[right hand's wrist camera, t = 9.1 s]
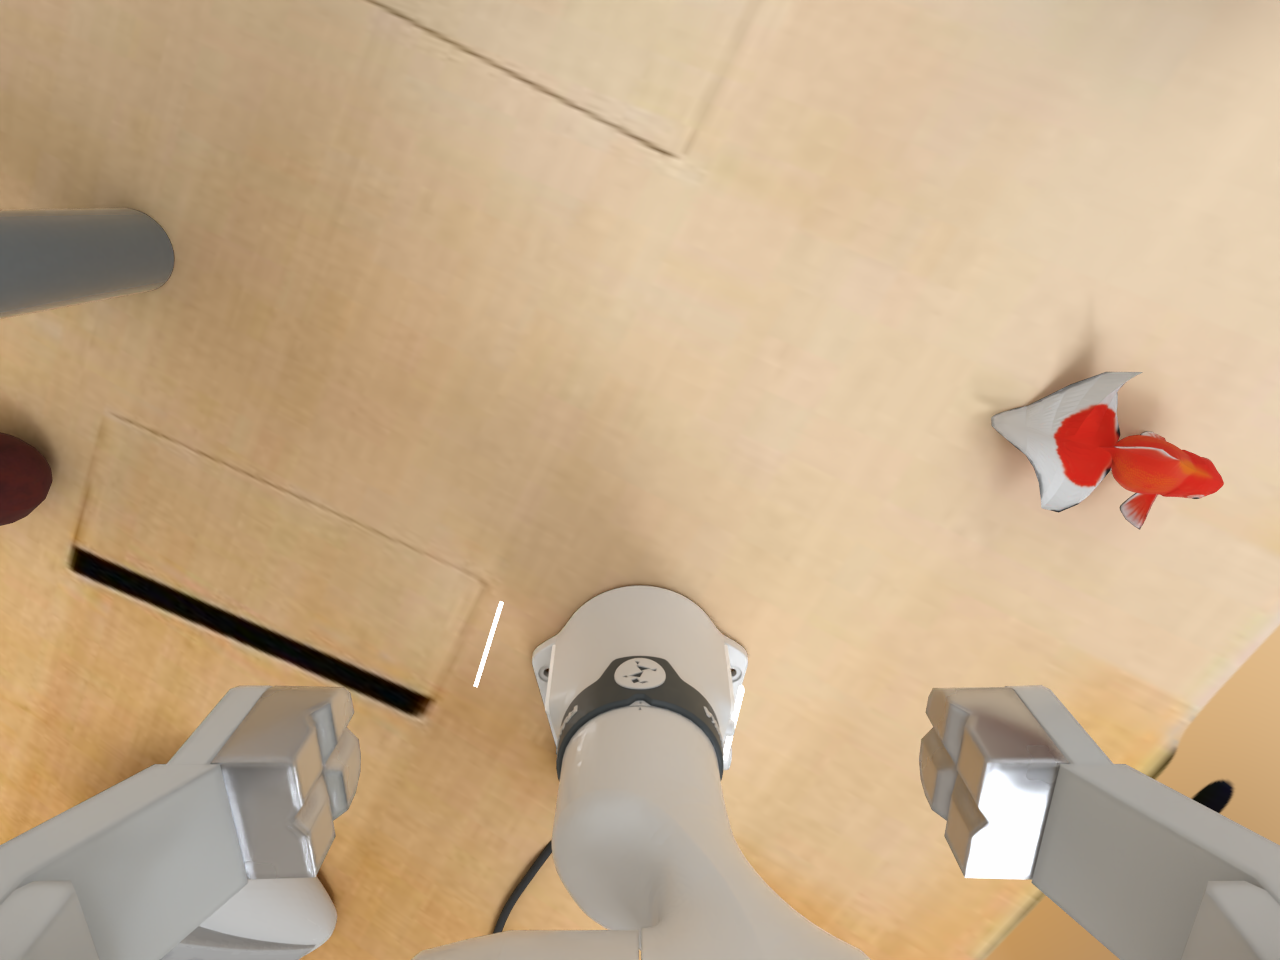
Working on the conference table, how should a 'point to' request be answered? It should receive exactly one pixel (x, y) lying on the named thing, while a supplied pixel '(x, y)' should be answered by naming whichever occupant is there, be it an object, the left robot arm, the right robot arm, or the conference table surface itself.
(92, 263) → the bottle
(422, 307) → the conference table surface
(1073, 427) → the fish
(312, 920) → the grey rounded slotted body
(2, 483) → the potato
